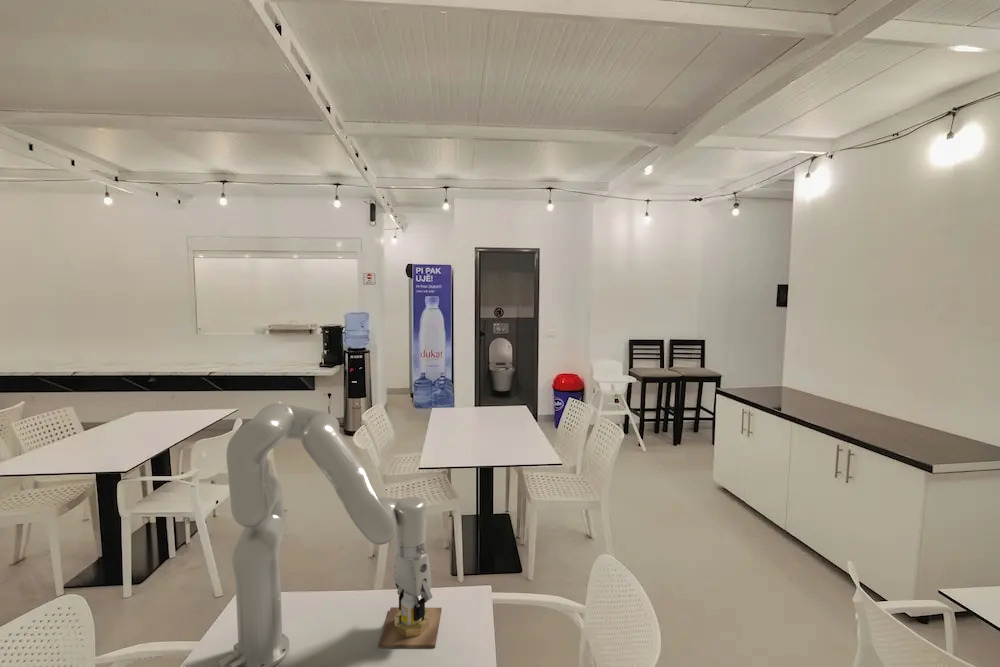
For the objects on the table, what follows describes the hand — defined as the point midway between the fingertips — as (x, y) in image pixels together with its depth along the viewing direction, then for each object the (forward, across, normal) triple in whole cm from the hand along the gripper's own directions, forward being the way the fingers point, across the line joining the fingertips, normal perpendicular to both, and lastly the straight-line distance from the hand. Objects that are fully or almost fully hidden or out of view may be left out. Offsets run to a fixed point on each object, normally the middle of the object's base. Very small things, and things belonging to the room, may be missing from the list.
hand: (411, 612), depth 126 cm
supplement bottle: (+4, 0, 0) cm, 4 cm away
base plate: (+4, 0, 0) cm, 4 cm away
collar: (+4, 0, 0) cm, 4 cm away
